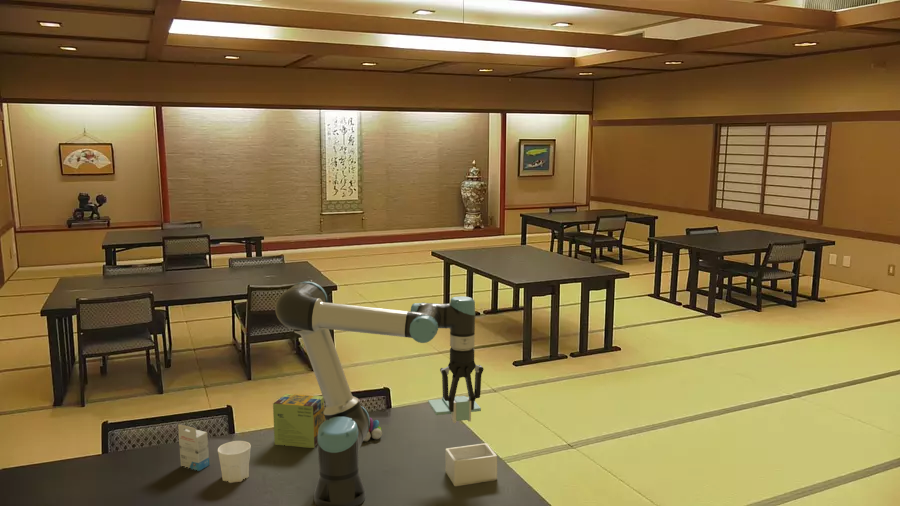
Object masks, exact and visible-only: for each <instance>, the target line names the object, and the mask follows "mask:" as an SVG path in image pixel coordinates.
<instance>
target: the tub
mask: <svg viewBox="0 0 900 506" xmlns="http://www.w3.org/2000/svg"><path fill="white" fill-rule="evenodd" d="M445 474H446V475H447V477H448V478H449V480H450V481H451V483H452V484H453V487H460V486H466V485H472V484H479V483H484V482H493V481H497V480H498V455H497V453H495V451H494V450H493V449H492V448H491V447H490V446H489V444H488V443H487V442H484V443H476V444H469V445H462V446H455V447H448V448H447V447H446V448H445Z"/></svg>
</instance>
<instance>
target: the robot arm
mask: <svg viewBox="0 0 900 506" xmlns="http://www.w3.org/2000/svg"><path fill="white" fill-rule="evenodd" d="M274 309H275V310H274V311H275V315H276V317H277V319H278V321H279V322H280V324H282V325H283V326H285V327H287V328H289V329H292V330H293V332H294V333H295V334H297V335H300V337H301V339H302V343H303V345H304V348H305V351H306V353H307V357H308V359H309V361H310V365H311V367H312V370H313V373H314V375H315V378H316V382H317V385H318V386H319V390H320V392H321V396H323V398H324V405H325V407H324V412H323V413H324V417H325V421H324V422H323V423H322V424H321V425H320V427H319V429H318V436H317V438H318V440H317V441H318V445H317V446H318V449H317V450H318V474H319V476H318V478H317V479H318V480H317V483H316V486H315V489H314V492H313V497H314V498H313V500H314V505H316V506H360V505H362V504H363V503H364V501H365V500H366V487H365V485H364V483H363V479H362V477H361V475H360V470H359V469H360V467H359V465H360V463H359V452H360V451H359V450H360V448H361V446H362V444H363V442H364V441H363V440H364V438H365V437H366V435H367V433H368V431H369V426H370V418H371V417H370V414H369V412H368V411H367V409H366V408H365V407H364V406H362V405H361V402H360V400H359V398H358V397H356V396H353V394H352V390H351V388H350V385H349V383H348V379H347V378H346V377H347V376H346V375H345V371H344V368H343V366H342V363H341V360H340V357H339V354H338V352H337V349H336V347H335V344H334V341H333V338H332V335H331V332H330V330H332V331H333V330H334V331H343V332H350V333H351V332H354V333H360V334H361V333H363V334H372V335H380V336H381V335H382V336H389V337H390V336H391V337H398V338H399V337H401V338H408V339H409V338H410V339H413V340H414V341H415V342H416V343H420V344H426V343H428V342H431V341H432V340H433V339H434V338H435V337H436V335H437V334H438V331H439V329H449V347H450V348H449V361H448V362H449V363H448V365H447V366H446V367H440V369H439V371H440V374H441V377H442V378H441V380H442V381H441V383H442V397H443V398H444V400H445V401H449V411H450V412H452V414H451V421H452V422H453V424H456V423H457V421H456V401H455V400H454V399H455V397H456V394H457V389H458V384H459V381H460V379H461V378H464V379H465V385H466V390H467V395H468V397H469V398H467V399H468V400H469V420H467V421H468V422H472V412H471V410H474V401H475V402H476V399H479V398H480V397H481V391H482V389H481V388H482V387H481V386H482V374H483V372H484V370H485V369H484V367H483V366H482V365H480V364H476V362H475V348H474V347H475V342H476V341H475V336H476V335H475V329H476V328H475V327H476V302H475V299H474V298H472V297H469V296H463V295H460V296H454V297H451V298H450V301H449V303H437V302H436V303H433V302H425V301H424V302H415V303H412V304H411V307H410V311H409V310H401V309H392V308H381V307H372V306H363V305H362V306H361V305H354V304H353V305H352V304H344V303H336V302H335V303H334V302H328V295H327V292H326V290H325V289H324V288H323V287H322V286H321V285H320V284H318V283H316V282H313V281H302V282H298V283H297V284H296V283H295V284H294V285H292V286H291V287H290V288H289V289H287V290H285V291H284V292H283V293H281V294H280V295H279V297H278V298H277V300H276V302H275V308H274ZM449 371H450V373H452V378H451V379H452V380H451V384H450V388H449V376H448V375H449ZM473 371H474V372H475V374H474V375H475V376H474V388H473V384H472V376H471V374H472V373H473ZM449 389H450V390H449Z"/></svg>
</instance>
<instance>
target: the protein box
mask: <svg viewBox="0 0 900 506" xmlns="http://www.w3.org/2000/svg"><path fill="white" fill-rule="evenodd" d="M272 409H273V410H272V411H273V413H272V414H273V434H274V436H273V440H274V441H273V442H274V445H275V446H276V445H277V446H284V445H285V446H286V447H294V448H295V447H298V448H308V449H315V448H316V447H317V446H318V441H317V440H318V438H317V436H318V429H319V427H320V425H321V424H322V423H323V422H324V421H326V419H325V416H324V413H323V412H324V410H325V401H324V398H323V396H322V395H311V394H310V395H309V394H296V393H295V394H294V393H285V394H284V395H283V396H281V397H280V398H278V399H277V400H276V401H274V403H272Z"/></svg>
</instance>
